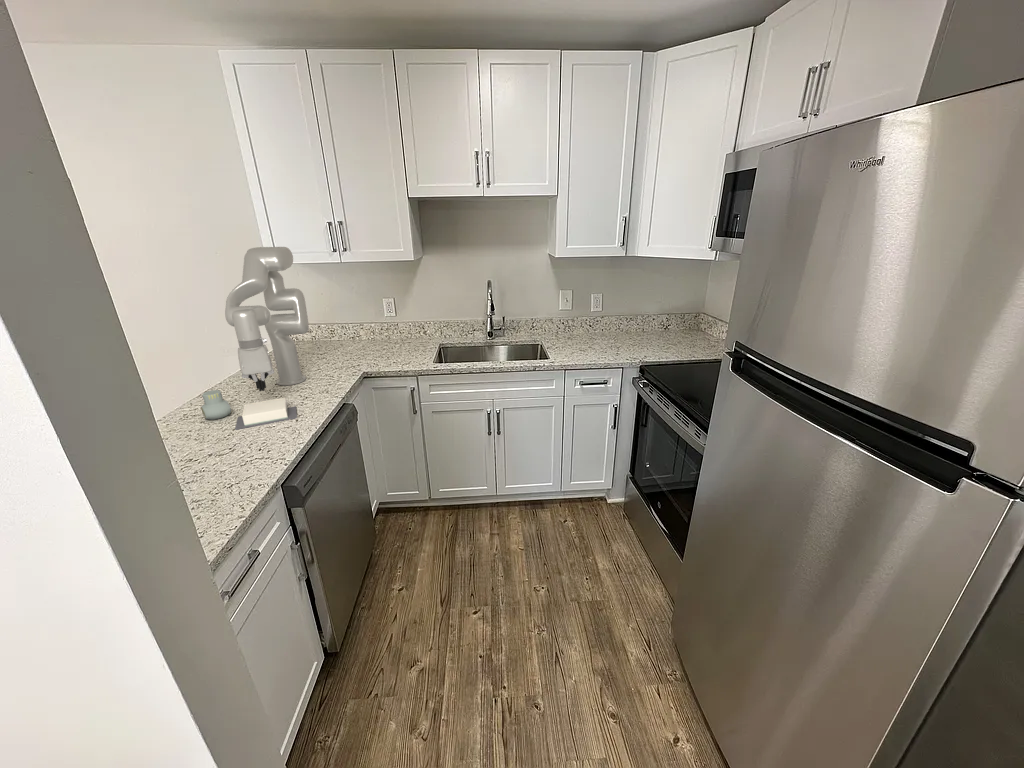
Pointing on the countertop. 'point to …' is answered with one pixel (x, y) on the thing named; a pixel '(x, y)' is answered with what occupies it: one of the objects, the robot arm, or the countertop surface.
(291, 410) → the mat
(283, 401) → the tile
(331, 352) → the countertop surface
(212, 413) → the air freshener
